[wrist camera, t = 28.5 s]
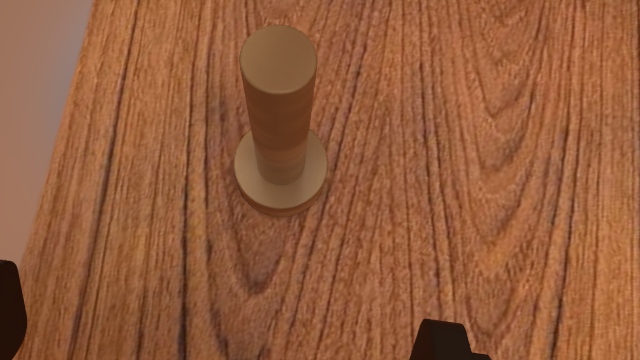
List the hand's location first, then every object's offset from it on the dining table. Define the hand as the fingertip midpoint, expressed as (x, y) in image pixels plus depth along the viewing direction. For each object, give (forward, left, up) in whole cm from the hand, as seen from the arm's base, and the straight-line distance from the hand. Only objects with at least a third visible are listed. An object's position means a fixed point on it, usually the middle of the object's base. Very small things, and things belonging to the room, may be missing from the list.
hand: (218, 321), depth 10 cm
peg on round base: (-1, +7, -14) cm, 16 cm away
